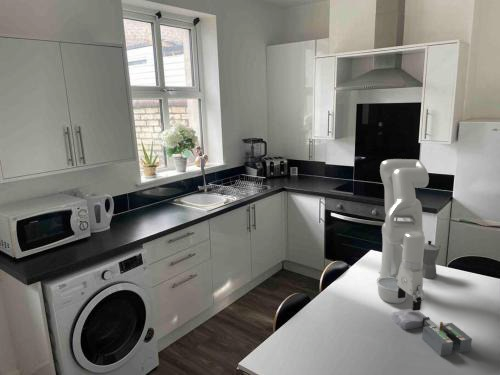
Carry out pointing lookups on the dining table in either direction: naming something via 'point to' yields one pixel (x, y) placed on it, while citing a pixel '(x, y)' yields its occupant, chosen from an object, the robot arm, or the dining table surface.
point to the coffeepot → (430, 260)
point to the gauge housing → (446, 339)
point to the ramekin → (389, 290)
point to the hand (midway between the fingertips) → (408, 303)
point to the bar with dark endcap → (428, 322)
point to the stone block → (408, 319)
